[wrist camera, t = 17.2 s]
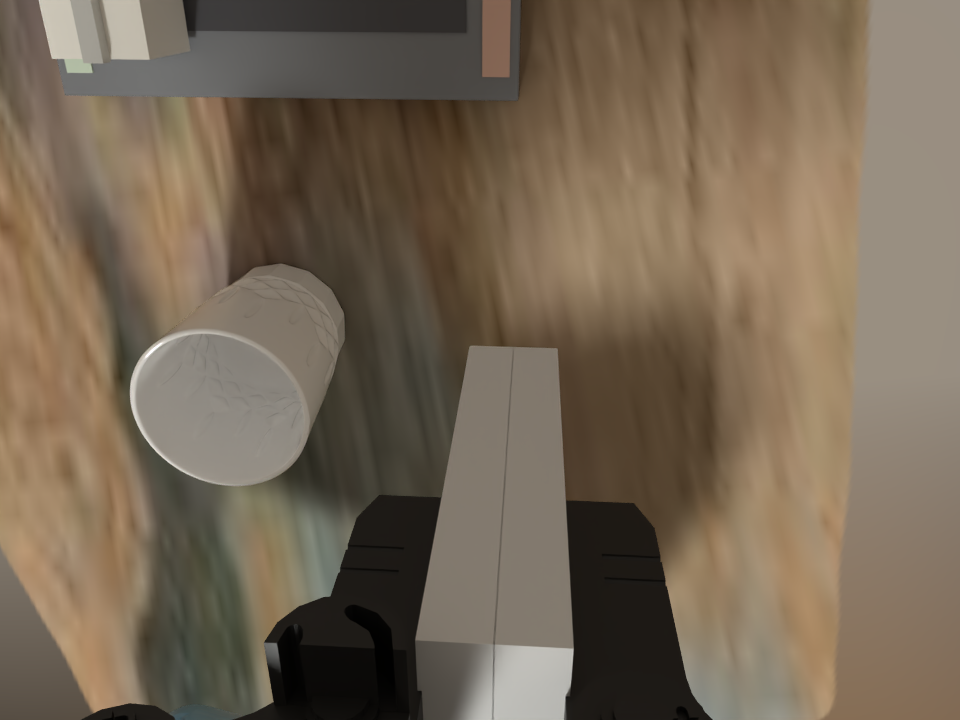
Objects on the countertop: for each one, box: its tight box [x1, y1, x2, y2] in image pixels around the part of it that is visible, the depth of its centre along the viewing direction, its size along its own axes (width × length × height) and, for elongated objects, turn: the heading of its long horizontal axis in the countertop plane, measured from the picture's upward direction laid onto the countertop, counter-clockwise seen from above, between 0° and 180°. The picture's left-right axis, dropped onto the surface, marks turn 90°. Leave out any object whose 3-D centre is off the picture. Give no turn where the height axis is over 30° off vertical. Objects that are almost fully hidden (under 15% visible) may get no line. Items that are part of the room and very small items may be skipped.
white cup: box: [130, 264, 345, 486], centre depth 38 cm, size 8×8×10 cm
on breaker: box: [39, 0, 190, 64], centre depth 31 cm, size 4×4×5 cm
